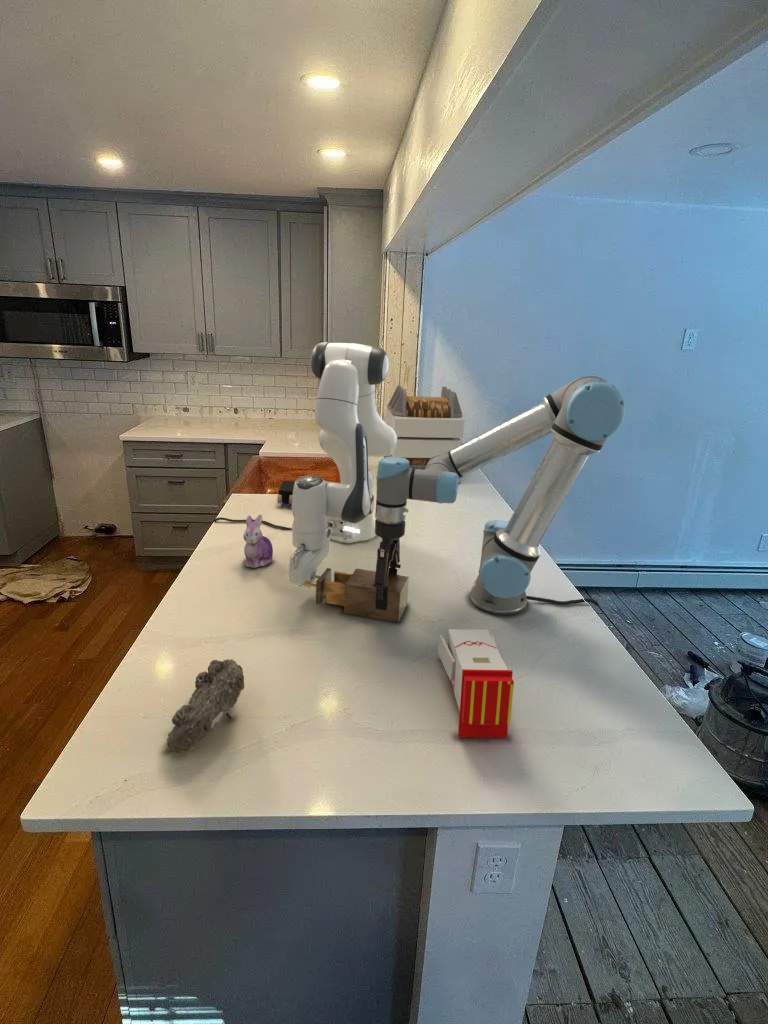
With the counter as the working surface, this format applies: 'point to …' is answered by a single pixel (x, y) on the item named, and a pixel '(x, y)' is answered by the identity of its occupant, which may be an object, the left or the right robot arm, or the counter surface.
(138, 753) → the counter surface
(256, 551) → the figurine
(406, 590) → the wooden drawer cabinet
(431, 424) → the transformer
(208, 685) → the fossil
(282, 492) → the figurine character
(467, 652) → the toy
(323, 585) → the drawer
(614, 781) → the counter surface
